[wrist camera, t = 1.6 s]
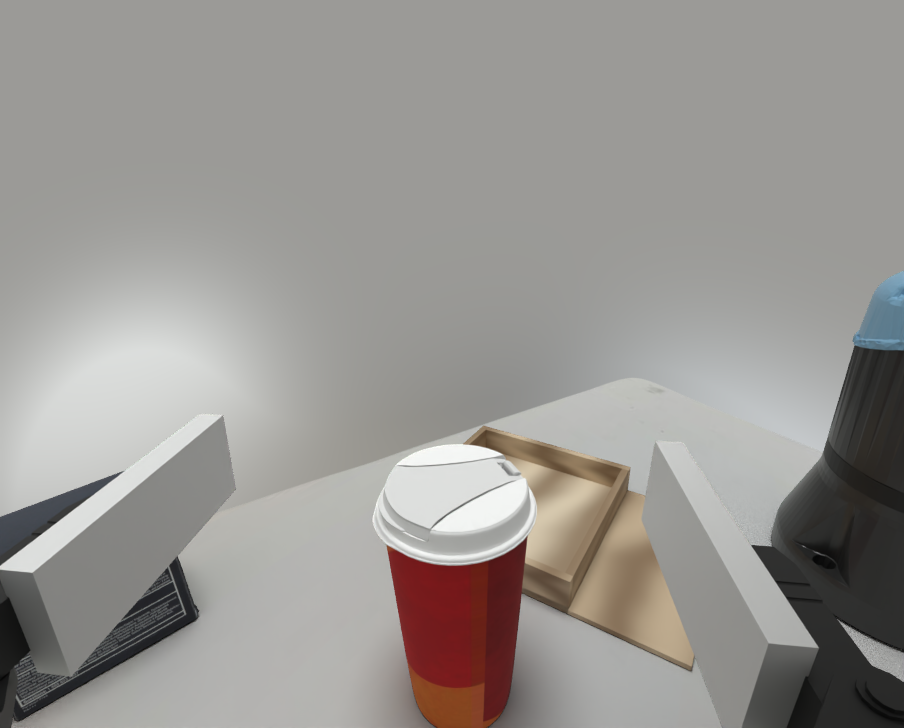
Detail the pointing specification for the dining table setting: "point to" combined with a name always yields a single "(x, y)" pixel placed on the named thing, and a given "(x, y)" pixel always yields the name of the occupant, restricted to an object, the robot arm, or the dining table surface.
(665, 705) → the dining table surface
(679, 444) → the robot arm
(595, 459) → the box
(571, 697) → the dining table surface
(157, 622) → the small box
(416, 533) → the coffee cup
